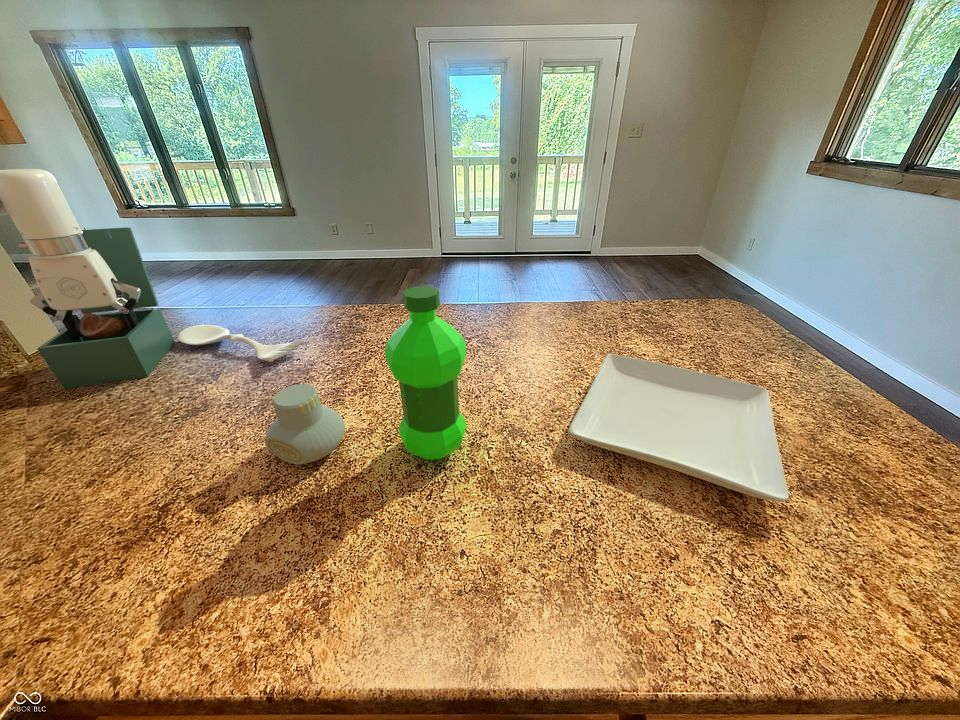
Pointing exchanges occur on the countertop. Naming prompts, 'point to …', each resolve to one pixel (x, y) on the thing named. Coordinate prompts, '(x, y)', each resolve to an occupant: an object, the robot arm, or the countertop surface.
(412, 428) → the plastic bottle
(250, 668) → the countertop surface
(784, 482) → the square plate
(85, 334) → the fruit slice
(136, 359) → the open green box
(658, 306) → the countertop surface
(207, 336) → the spoon
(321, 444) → the air freshener
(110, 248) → the lid
